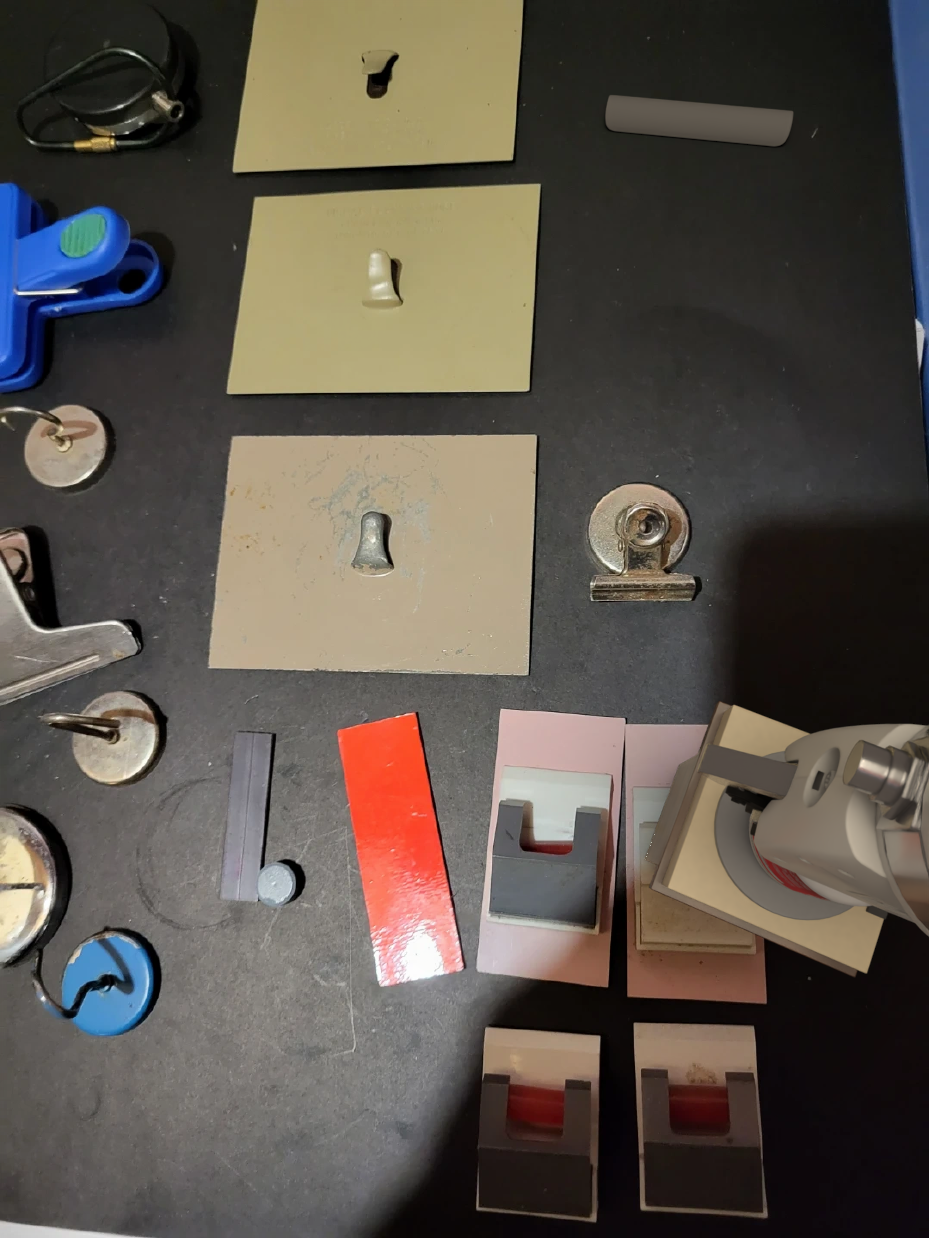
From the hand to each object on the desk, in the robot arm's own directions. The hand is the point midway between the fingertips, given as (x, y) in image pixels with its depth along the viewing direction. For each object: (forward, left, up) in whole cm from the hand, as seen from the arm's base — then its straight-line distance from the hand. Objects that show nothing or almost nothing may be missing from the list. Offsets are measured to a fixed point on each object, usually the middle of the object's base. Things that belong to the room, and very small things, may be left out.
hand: (840, 834), depth 40 cm
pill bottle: (0, 0, -6) cm, 6 cm away
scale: (0, 0, -11) cm, 11 cm away
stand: (0, 0, -38) cm, 38 cm away
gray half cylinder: (+26, -70, -38) cm, 84 cm away
